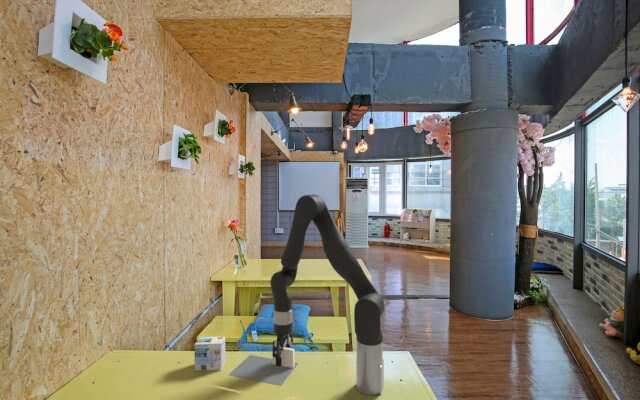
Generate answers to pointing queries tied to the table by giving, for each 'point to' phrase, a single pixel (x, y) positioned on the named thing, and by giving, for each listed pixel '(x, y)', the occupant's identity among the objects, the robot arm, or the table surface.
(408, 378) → the table surface
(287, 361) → the card deck
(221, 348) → the light bulb box
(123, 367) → the table surface
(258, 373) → the mat
